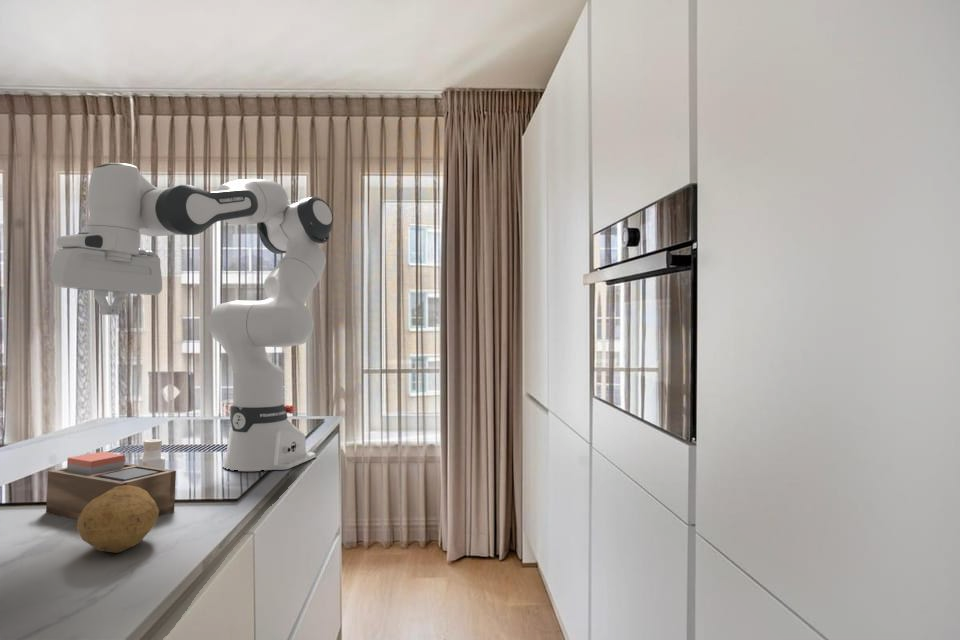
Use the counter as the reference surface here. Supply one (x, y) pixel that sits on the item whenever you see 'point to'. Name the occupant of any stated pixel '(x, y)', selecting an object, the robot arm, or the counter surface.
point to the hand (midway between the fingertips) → (109, 315)
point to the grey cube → (128, 474)
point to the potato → (118, 518)
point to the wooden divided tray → (105, 489)
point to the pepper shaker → (152, 454)
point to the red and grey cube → (95, 463)
